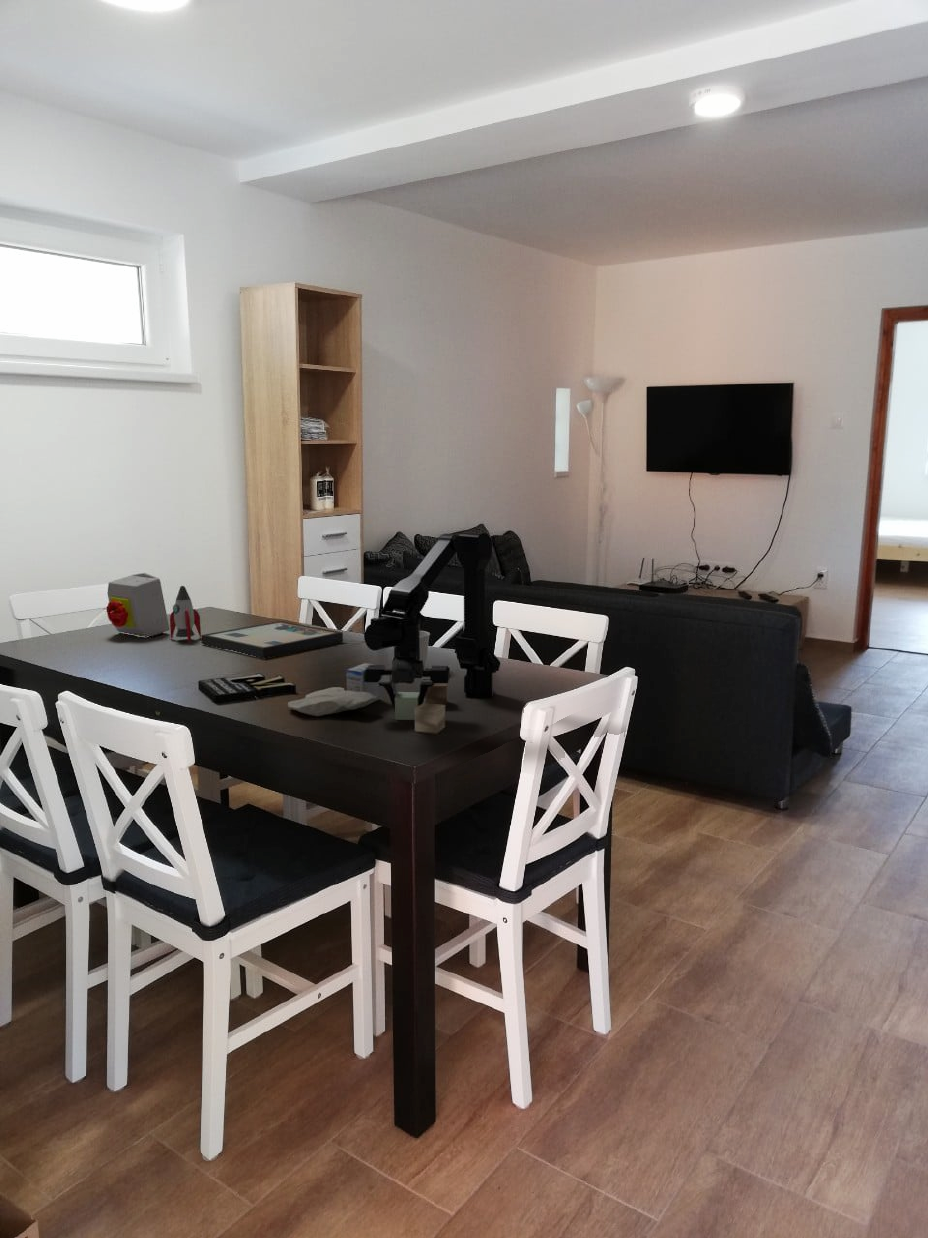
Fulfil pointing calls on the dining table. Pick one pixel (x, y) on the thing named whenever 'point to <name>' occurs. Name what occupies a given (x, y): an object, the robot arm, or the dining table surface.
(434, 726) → the beech cube
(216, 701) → the decorative sign
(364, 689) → the medicine box
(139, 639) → the dining table surface
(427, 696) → the walnut cube
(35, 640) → the dining table surface
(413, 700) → the sage cube
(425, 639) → the dixie cup
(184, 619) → the toy
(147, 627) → the electrical switch box
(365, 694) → the rock
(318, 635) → the board game box
